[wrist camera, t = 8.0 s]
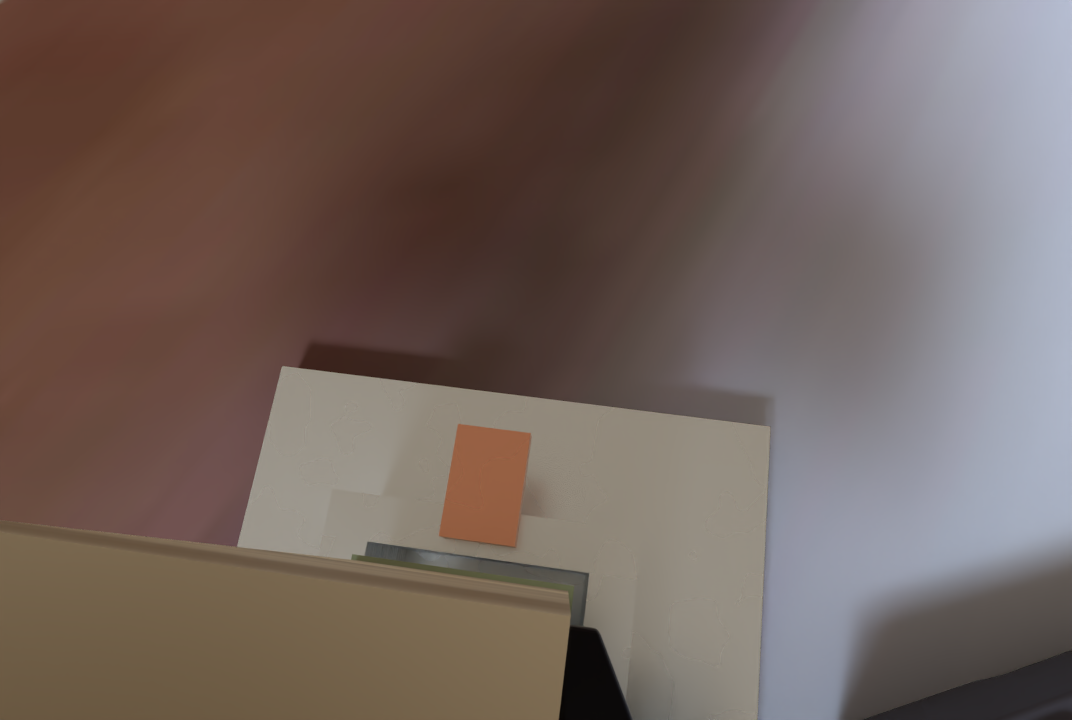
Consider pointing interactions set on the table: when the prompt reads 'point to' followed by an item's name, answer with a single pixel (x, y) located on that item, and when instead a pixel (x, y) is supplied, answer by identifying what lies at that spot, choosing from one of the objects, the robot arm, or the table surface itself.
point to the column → (266, 634)
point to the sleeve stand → (540, 515)
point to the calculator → (1001, 697)
